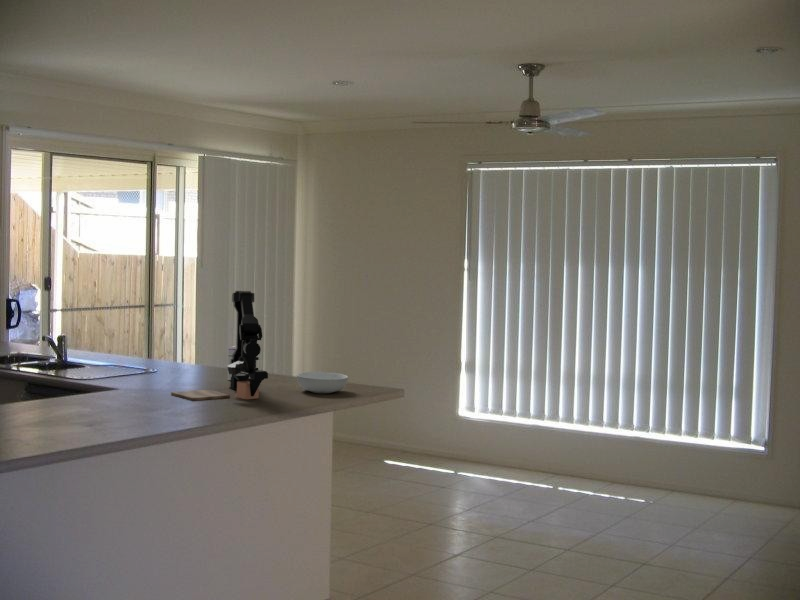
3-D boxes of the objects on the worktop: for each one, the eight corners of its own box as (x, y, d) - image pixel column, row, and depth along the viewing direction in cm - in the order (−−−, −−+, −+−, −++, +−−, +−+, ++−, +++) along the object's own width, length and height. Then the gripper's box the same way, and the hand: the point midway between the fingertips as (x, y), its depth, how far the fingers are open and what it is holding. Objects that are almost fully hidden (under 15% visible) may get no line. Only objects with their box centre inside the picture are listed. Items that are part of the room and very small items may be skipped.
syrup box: (239, 381, 402) (240, 347, 401) (226, 380, 403) (227, 346, 402) (244, 379, 407) (245, 346, 407) (231, 378, 408) (232, 345, 408)
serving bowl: (307, 396, 367) (308, 379, 367) (288, 389, 386) (289, 372, 386) (355, 395, 377) (356, 377, 377) (335, 387, 395) (335, 371, 395)
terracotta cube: (249, 396, 363) (250, 380, 362) (258, 398, 358) (259, 382, 358) (236, 397, 359) (237, 381, 358) (245, 399, 354) (245, 383, 354)
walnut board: (207, 392, 368) (207, 389, 368) (229, 397, 357) (229, 395, 357) (171, 394, 358) (171, 392, 358) (192, 400, 346) (192, 398, 346)
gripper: (217, 352, 359) (216, 393, 360) (244, 357, 345) (243, 400, 346) (242, 351, 367) (241, 391, 367) (269, 356, 353) (268, 397, 354)
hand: (247, 394), depth 358 cm, fingers closed on terracotta cube, 6 cm apart
